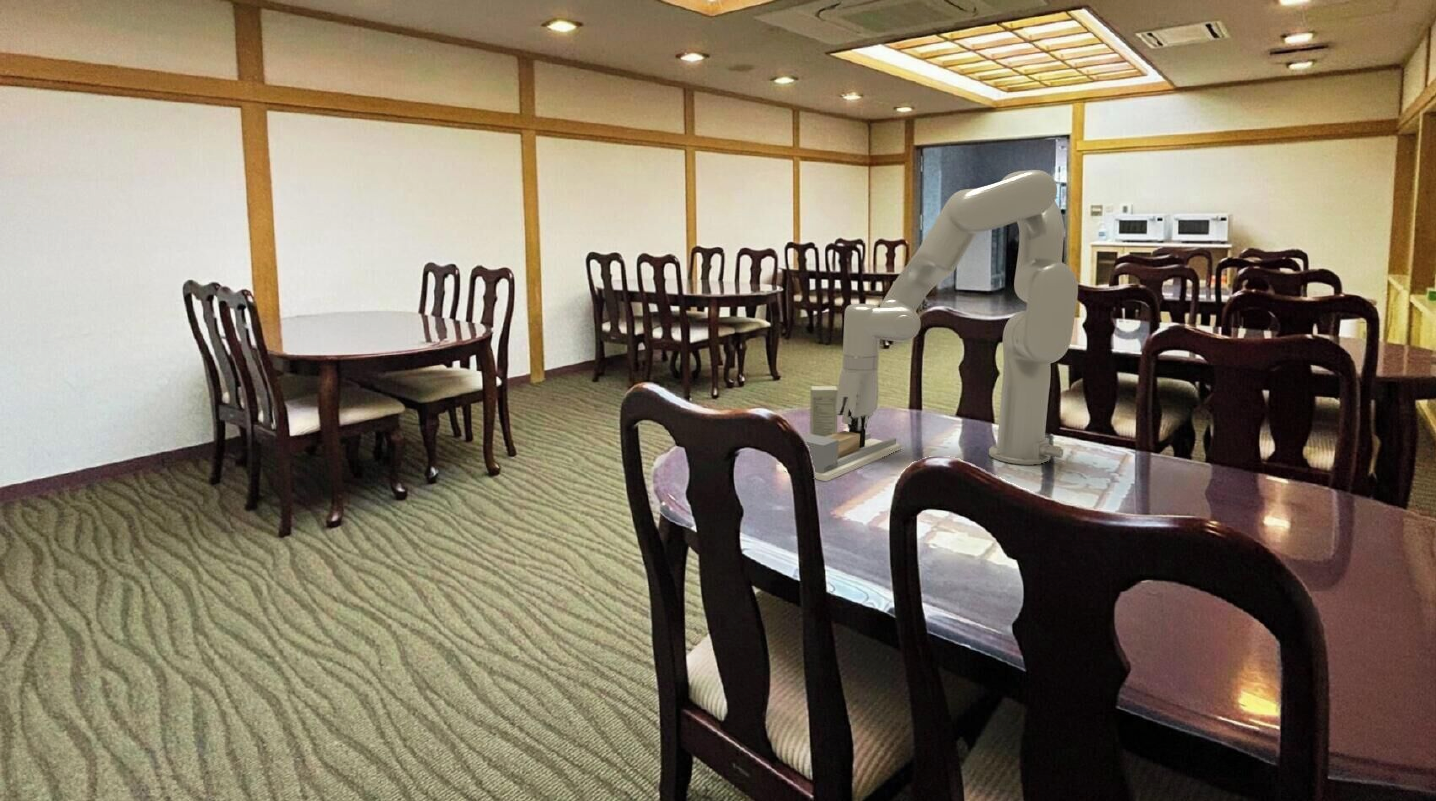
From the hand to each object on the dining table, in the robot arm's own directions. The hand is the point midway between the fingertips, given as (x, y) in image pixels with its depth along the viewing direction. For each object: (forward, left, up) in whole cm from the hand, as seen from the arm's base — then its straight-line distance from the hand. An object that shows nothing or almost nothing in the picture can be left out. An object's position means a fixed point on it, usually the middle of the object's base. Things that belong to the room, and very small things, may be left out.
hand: (856, 446), depth 185 cm
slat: (0, +8, -1) cm, 8 cm away
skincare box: (+13, -7, -2) cm, 15 cm away
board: (0, +4, -2) cm, 5 cm away
